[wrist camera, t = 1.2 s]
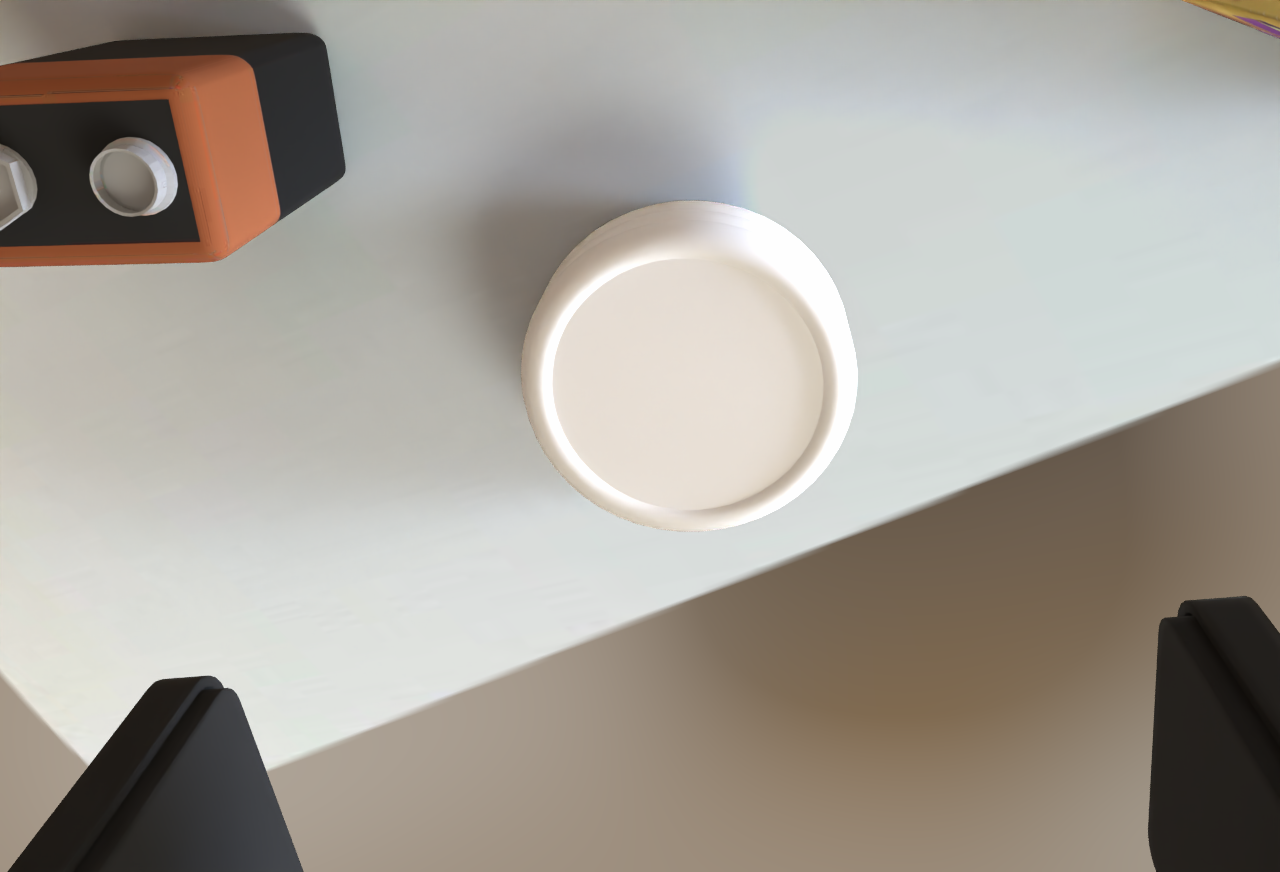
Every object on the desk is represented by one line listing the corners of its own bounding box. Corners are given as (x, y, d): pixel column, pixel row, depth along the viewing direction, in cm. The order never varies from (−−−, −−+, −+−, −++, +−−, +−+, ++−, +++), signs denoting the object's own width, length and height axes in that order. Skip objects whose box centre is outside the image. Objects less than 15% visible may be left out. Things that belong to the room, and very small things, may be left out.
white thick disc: (791, 147, 32) (796, 173, 29) (886, 435, 36) (900, 486, 33) (487, 259, 35) (462, 295, 32) (606, 520, 38) (594, 575, 35)
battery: (107, 39, 33) (-133, 90, 24) (329, 29, 32) (167, 78, 23) (143, 185, 35) (-68, 284, 26) (352, 179, 34) (212, 278, 25)
